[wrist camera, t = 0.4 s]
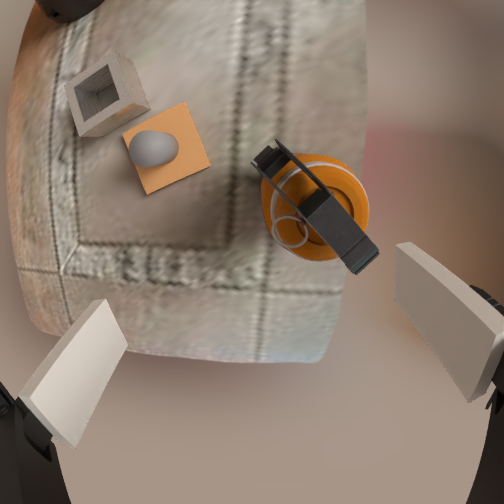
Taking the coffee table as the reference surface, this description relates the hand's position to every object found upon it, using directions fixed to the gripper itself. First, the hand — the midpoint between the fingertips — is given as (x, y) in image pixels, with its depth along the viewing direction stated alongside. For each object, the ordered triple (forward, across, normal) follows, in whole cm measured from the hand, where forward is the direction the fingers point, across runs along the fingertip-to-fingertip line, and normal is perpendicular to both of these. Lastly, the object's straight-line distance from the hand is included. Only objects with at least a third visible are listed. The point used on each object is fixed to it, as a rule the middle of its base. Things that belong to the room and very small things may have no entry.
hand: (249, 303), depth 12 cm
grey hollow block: (+26, -15, +18) cm, 35 cm away
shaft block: (+26, -9, +9) cm, 29 cm away
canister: (+26, +5, +1) cm, 27 cm away
